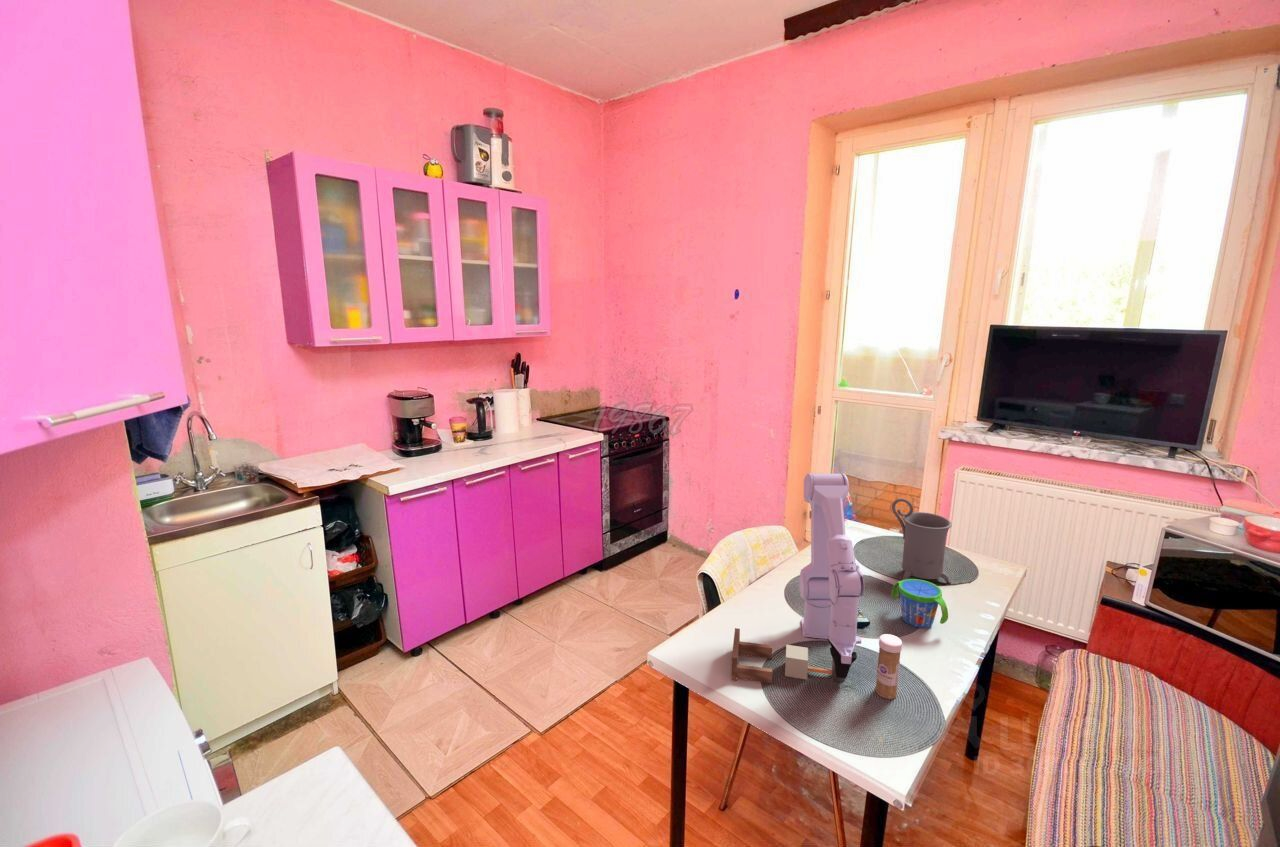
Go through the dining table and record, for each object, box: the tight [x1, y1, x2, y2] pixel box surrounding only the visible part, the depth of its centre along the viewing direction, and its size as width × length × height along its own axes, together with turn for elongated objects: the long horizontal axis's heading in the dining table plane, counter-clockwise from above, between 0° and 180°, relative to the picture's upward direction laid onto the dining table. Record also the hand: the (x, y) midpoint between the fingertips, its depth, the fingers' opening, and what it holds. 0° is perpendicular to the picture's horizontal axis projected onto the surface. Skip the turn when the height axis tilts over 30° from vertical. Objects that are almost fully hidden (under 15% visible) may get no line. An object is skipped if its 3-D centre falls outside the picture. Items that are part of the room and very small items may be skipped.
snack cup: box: [891, 578, 949, 628], centre depth 147 cm, size 16×10×10 cm
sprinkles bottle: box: [874, 633, 903, 700], centre depth 119 cm, size 5×5×13 cm
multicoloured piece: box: [784, 644, 846, 683], centre depth 127 cm, size 14×5×6 cm, turn 74°
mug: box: [891, 498, 953, 585], centre depth 170 cm, size 19×15×25 cm
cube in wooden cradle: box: [730, 627, 773, 684], centre depth 130 cm, size 9×12×6 cm
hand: (840, 672), depth 125 cm, fingers closed on multicoloured piece, 3 cm apart
